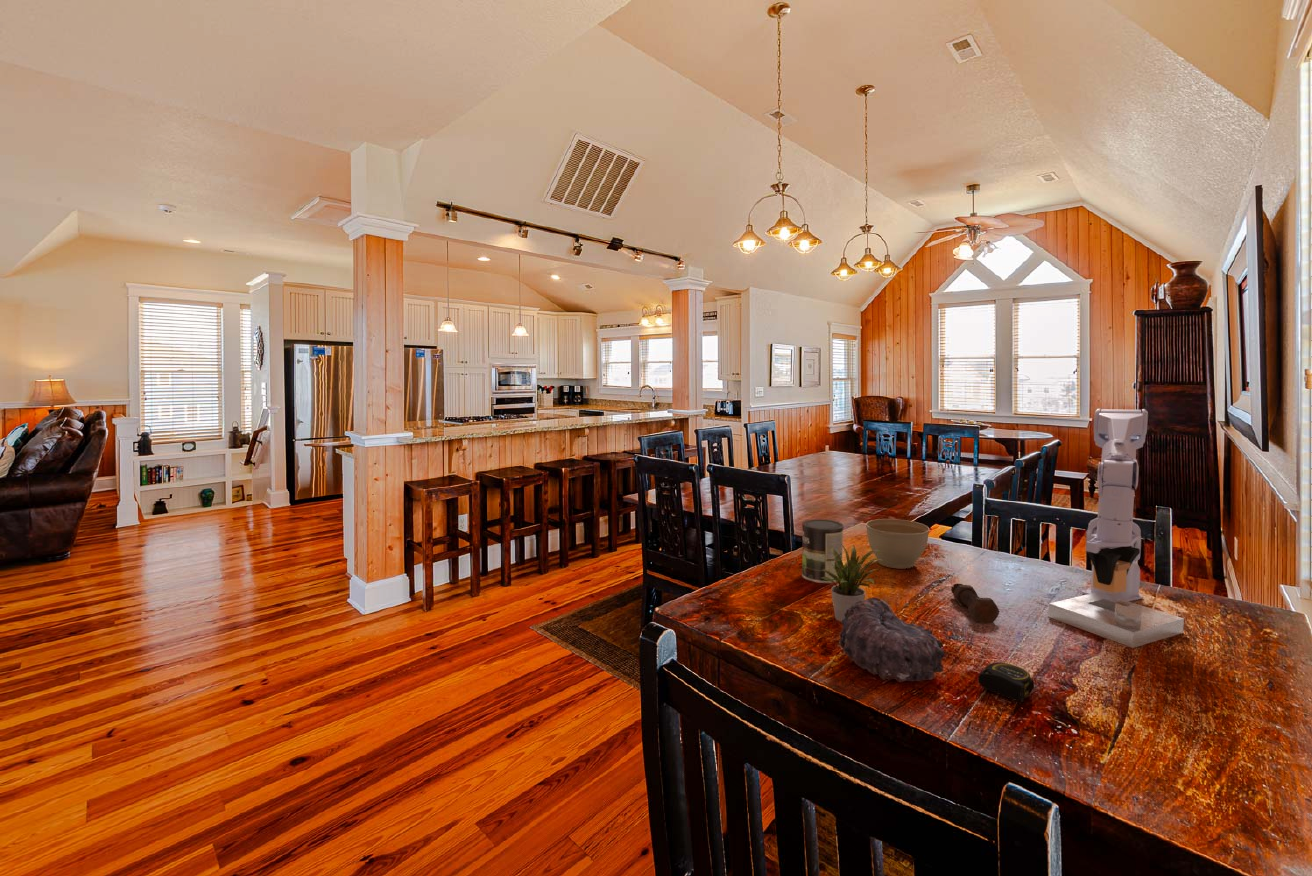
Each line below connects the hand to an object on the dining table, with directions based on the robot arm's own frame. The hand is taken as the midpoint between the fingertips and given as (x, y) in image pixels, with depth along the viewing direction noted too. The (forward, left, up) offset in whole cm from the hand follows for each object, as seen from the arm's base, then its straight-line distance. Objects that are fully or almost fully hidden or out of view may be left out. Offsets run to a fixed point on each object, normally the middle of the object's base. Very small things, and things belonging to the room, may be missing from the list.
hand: (1111, 581), depth 123 cm
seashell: (+56, -4, -8) cm, 57 cm away
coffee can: (+37, -47, -8) cm, 60 cm away
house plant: (+48, -22, -8) cm, 53 cm away
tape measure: (+46, +12, -9) cm, 48 cm away
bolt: (+21, -16, -9) cm, 28 cm away
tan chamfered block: (0, 0, -2) cm, 2 cm away
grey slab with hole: (+2, +2, -8) cm, 9 cm away
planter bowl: (+12, -47, -8) cm, 49 cm away
